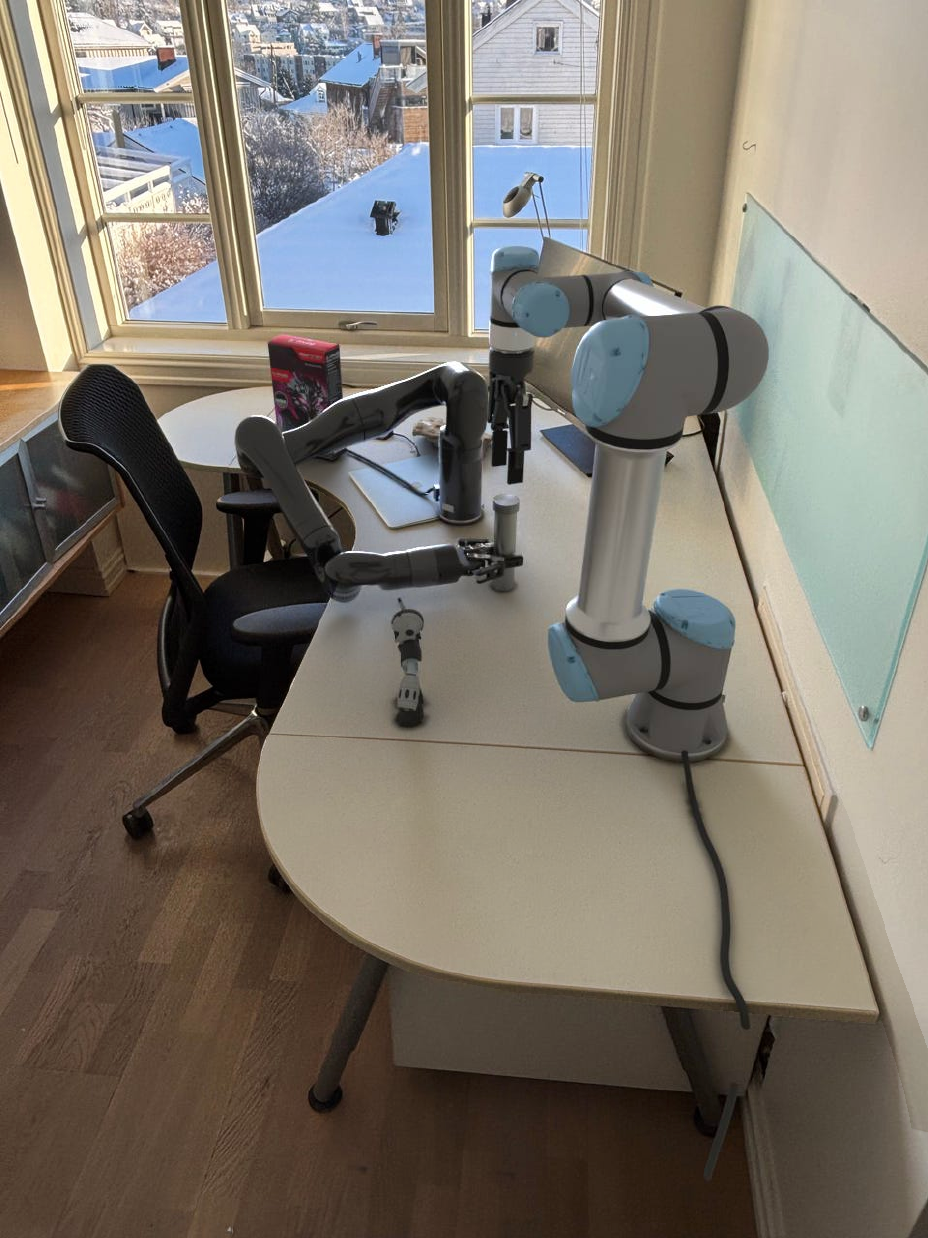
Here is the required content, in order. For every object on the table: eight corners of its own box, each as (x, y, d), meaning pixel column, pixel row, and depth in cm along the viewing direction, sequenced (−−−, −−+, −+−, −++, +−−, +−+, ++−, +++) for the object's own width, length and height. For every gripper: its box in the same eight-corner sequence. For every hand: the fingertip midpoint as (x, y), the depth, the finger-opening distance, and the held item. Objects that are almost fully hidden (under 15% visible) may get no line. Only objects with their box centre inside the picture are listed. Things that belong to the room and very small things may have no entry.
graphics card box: (276, 448, 231) (264, 340, 216) (293, 439, 236) (282, 332, 221) (333, 462, 225) (324, 351, 209) (349, 452, 230) (341, 343, 214)
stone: (396, 441, 228) (401, 417, 225) (415, 432, 241) (420, 409, 239) (476, 465, 224) (482, 442, 222) (491, 455, 237) (496, 432, 235)
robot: (426, 751, 138) (424, 643, 127) (394, 752, 138) (389, 643, 127) (424, 672, 155) (422, 570, 143) (395, 673, 154) (391, 570, 143)
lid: (487, 507, 169) (487, 497, 168) (508, 500, 172) (509, 491, 171) (503, 517, 166) (503, 507, 165) (524, 510, 168) (525, 501, 167)
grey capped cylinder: (488, 584, 179) (490, 500, 169) (505, 578, 181) (508, 494, 171) (500, 593, 176) (503, 508, 166) (518, 587, 178) (522, 503, 168)
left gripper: (422, 564, 179) (506, 552, 183) (440, 602, 168) (529, 589, 172) (421, 530, 175) (507, 519, 179) (440, 567, 163) (531, 554, 167)
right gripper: (557, 363, 146) (548, 494, 159) (510, 327, 161) (505, 449, 174) (513, 368, 144) (508, 501, 157) (469, 331, 159) (468, 454, 172)
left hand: (517, 553), depth 175 cm, fingers closed on grey capped cylinder, 4 cm apart
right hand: (506, 473), depth 165 cm, fingers open, 7 cm apart
